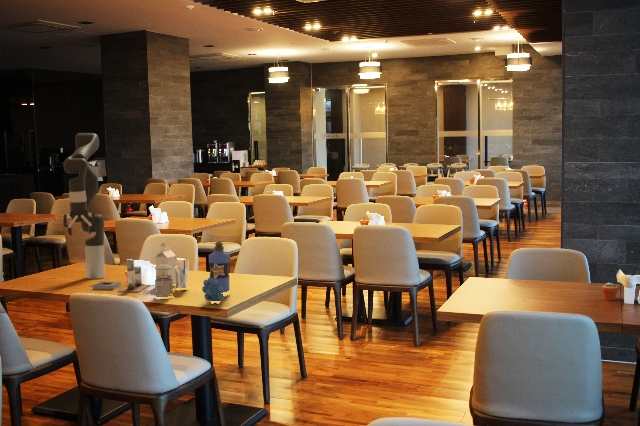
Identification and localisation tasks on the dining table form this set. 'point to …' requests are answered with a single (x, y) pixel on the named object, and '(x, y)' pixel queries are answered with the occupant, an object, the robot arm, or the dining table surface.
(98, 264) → the robot arm
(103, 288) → the socket block
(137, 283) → the short bit
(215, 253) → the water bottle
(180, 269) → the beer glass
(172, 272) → the milk carton
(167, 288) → the french press
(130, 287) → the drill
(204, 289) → the grapes
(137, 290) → the rack
